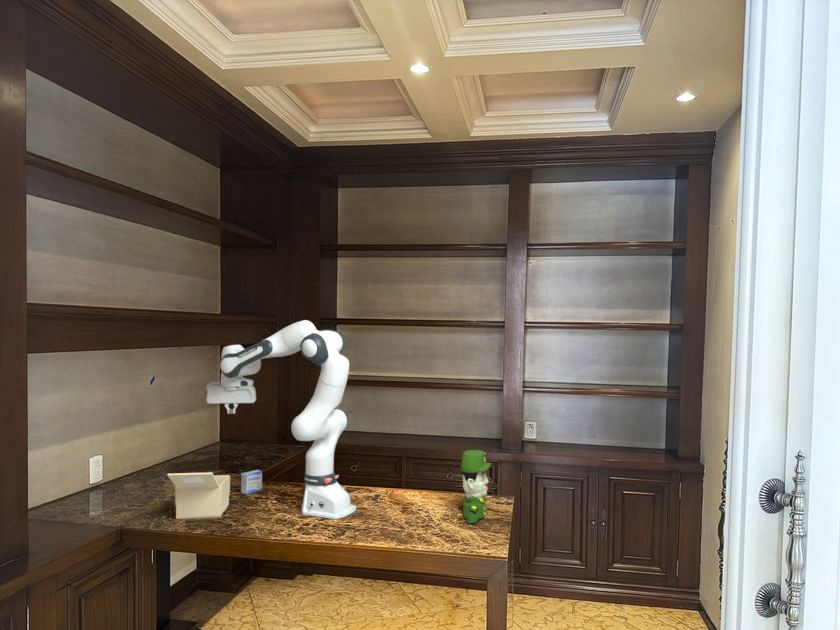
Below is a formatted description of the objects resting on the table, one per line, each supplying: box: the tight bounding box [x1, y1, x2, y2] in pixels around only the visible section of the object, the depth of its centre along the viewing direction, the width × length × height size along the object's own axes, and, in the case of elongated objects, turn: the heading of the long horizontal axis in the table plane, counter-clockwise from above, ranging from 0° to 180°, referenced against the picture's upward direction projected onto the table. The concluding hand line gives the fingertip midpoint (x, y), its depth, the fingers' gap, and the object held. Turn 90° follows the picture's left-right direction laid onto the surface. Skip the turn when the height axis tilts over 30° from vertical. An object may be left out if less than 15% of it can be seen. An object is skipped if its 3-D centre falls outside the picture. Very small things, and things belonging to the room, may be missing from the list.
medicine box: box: [240, 469, 263, 495], centre depth 231 cm, size 8×4×9 cm, turn 143°
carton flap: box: [167, 471, 219, 488], centre depth 194 cm, size 13×15×1 cm
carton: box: [174, 474, 231, 520], centre depth 207 cm, size 14×17×12 cm
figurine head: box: [460, 449, 492, 524], centre depth 205 cm, size 22×12×25 cm, turn 167°
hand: (231, 413), depth 227 cm, fingers closed
